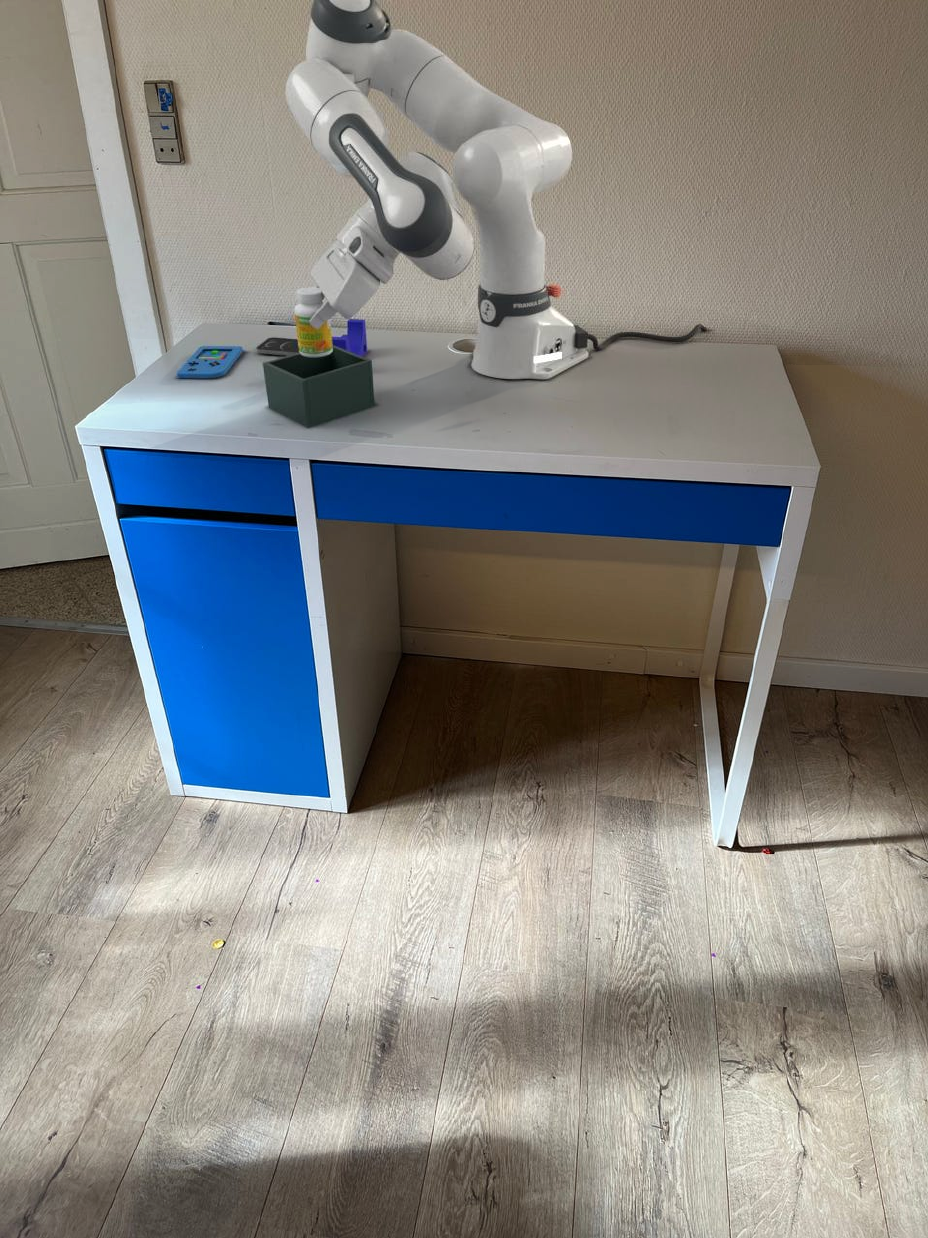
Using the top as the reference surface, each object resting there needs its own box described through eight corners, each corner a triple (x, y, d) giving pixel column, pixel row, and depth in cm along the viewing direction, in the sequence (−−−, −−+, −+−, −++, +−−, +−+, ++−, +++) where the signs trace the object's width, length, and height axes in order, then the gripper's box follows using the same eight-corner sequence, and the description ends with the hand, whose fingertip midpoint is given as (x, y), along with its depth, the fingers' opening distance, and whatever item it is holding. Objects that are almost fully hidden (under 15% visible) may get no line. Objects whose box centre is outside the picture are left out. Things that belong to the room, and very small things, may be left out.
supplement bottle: (297, 358, 147) (289, 295, 142) (301, 347, 152) (294, 285, 146) (331, 357, 147) (325, 295, 142) (334, 346, 152) (329, 285, 146)
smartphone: (329, 355, 173) (253, 349, 175) (329, 360, 173) (254, 353, 176) (342, 342, 179) (269, 336, 181) (343, 347, 179) (270, 341, 182)
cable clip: (344, 350, 178) (341, 318, 174) (367, 351, 177) (365, 319, 173) (324, 371, 168) (321, 338, 165) (348, 373, 167) (345, 340, 164)
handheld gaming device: (175, 371, 165) (200, 344, 177) (176, 378, 166) (201, 349, 178) (221, 372, 165) (243, 344, 177) (222, 378, 165) (243, 350, 178)
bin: (334, 387, 162) (330, 343, 157) (375, 405, 155) (371, 360, 150) (268, 407, 154) (262, 362, 150) (307, 427, 147) (302, 380, 143)
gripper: (336, 219, 149) (283, 288, 153) (363, 249, 133) (303, 325, 136) (366, 246, 153) (313, 313, 156) (395, 278, 137) (336, 352, 140)
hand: (308, 319), depth 146 cm, fingers closed on supplement bottle, 5 cm apart
